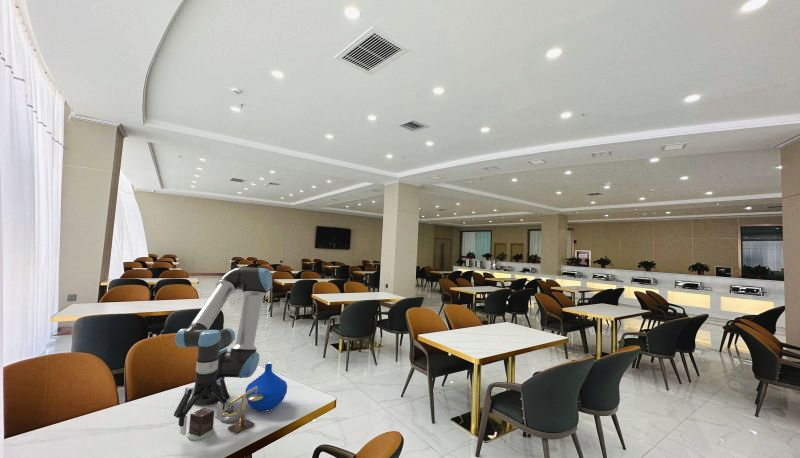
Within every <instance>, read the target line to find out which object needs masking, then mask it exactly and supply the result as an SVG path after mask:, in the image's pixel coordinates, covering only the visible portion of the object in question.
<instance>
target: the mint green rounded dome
mask: <svg viewBox="0 0 800 458" xmlns="http://www.w3.org/2000/svg"><path fill="white" fill-rule="evenodd" d="M214 432H215V427H214V426H213V429H212V430H211V431H209V432H207V433H205V434H203V435H202V436H197V435H194V434H190V433H189V431H188V432H187V433H186V434H187V435H186V438H187V439H188V440H189V441H202V440H205V439H208V438H209V437H211V436H213V434H214Z"/></svg>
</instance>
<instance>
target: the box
mask: <svg viewBox="0 0 800 458" xmlns="http://www.w3.org/2000/svg"><path fill="white" fill-rule="evenodd" d="M189 415H190V417H189V427H188V432H189V433H190V434H194V435H197V436H202V435H203V434H205V433H207V432H209V431H211V430H212V429H213V427H214V420H215V410H213V409H210V408H206V407H203V408H200V409H198V410H196V411H194V412H191V413H190V414H189Z"/></svg>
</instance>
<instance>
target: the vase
mask: <svg viewBox="0 0 800 458" xmlns="http://www.w3.org/2000/svg"><path fill="white" fill-rule="evenodd" d="M272 367H273V364H272V363H266V364H265V367H264V371H263V373H262V374H261V375H259V376H258V377H256V378H255V379H254V380H253V381H251V382H250V383H248V384H247V386H246V388H245V391H244V393H245V392H247V391H249V390H250V389H252V388H254V387H256V386H257V387H258V389H257V393H256V390H254V391H253V392H251V393H249V394H248V395H246V402H247V404H248V405H249V407H250V408H252V410H255V411H256V412H268V411H267V410H269V411H272V410H274V409H275V408H277V407H278V406H280V404H281V403H282V402H283V401H284V399H285V397H286V395H287V392H288V384H287V381H286V380H284V379H282V378H281V377H279V376H278V375H277V374H275V373H274V372H273V369H272ZM255 393H256V394H262V395H263V399H261V400H259V401H249V400H248V397H249V396H250V395H253V394H255ZM273 408H274V409H273ZM271 409H272V410H271Z"/></svg>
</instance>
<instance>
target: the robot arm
mask: <svg viewBox="0 0 800 458" xmlns="http://www.w3.org/2000/svg"><path fill="white" fill-rule="evenodd" d="M272 285H273V276H272V271H270V269H268V268H264V267H263V268H262V267H249V266H248V267H244V266H240V267H235V268H233V269H231V270H229V271H227V272H225V274H223V275H222V276H221V277H220V278H219V279H218V281H217V282H216V283H215V288H214V290H213V291H212V293H211V294H210V296H209V297H208V299H207V300H206V301H205V303H204V305H203V306H202V308H201V309H200V310H199V312H198V313H197V315H196V316H195V318H194V319H193V320H192V322H191V323H190V324H189V326H188V327H187V328H186V327H185V328H181V329H178V331H177V332H176V334H175V337H174V343H175V345H176V346H177V347H180V348H187V349H188V348H195V349H196V348H197V358H196V364H195V365H196V367H195V378H194V386H193V387H186V388H185V391H184V394H183V396H182V398H181V400H180V402H179V404H178V406H177V407H176V408H175V411H174V412H173V416H174V417H175V418H177V419H178V426H179V427H180V430H179V433H180V434H181V435H182V436H187V435H186V434H187V424H188V415H187V414H188V413H189V412H190V411H191V409H192V408H193V406H194V405H197V406H207V405H213V404H217V407H216V417H215V419H216V420H219V421H220V420H222V412H223V411H225V408H226V407H225V406H226V405H225V404H226V403H227V400H230V398H231V395H230V394H229V392H228V388H227V384H226V381H225V378H237V379H245V378H246V379H247V378H251V377H252V376H253V375H254V373H255V372H256V370H257V367H258V365H259V364H260V363H259V361H260V353H259V352H257V349H258V348H257V347H256V345H255V342H256V341H255V340H256V336H257V330H258V324H259V319H260V313H261V308H262V301H263V298H264V296H266V295H267V292H268V291H270V290H271V289H272ZM237 290H242V294H243V295H244V299H243V304H242V309H241V313H240V320H239V323H238V325H239V326H238V330H237V334H236V333H235V331H234V330H233V329H232V328H229V327H227V328H222V329H210V327H211V326H212V325H213V323H214V321H215V319H216V318H217V317H218V315H219V314H220V313H221V310H222V309H223V307H224V305H225V304H226V302H227V301H228V299H229V297H230V296H231V295H233V294H234V293H235V292H236V291H237ZM234 341H235V344H234V345H233V346H232V347H231V348H230V351H228V347H229V346H230V345H231V344H232V343H234Z"/></svg>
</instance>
